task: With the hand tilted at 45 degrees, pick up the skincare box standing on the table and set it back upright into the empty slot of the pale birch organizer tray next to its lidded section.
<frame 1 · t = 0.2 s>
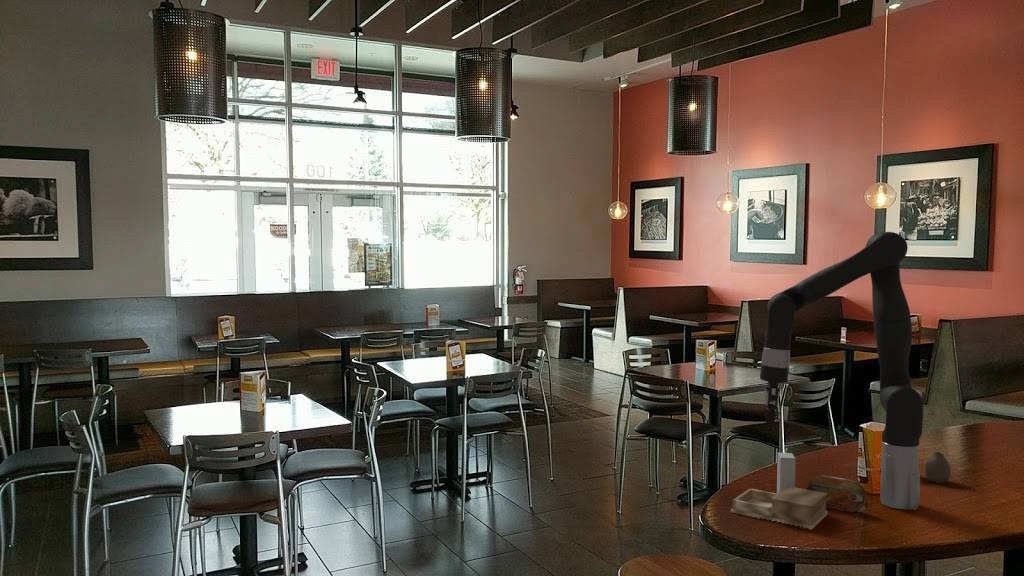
hand: (769, 421, 216), 22 cm above the table, tool pointing down, fingers open, 8 cm apart
organizer tray: (778, 513, 204), on the table
tin: (836, 508, 208), on the table
skincare box: (785, 497, 217), on the table
vase: (937, 482, 231), on the table
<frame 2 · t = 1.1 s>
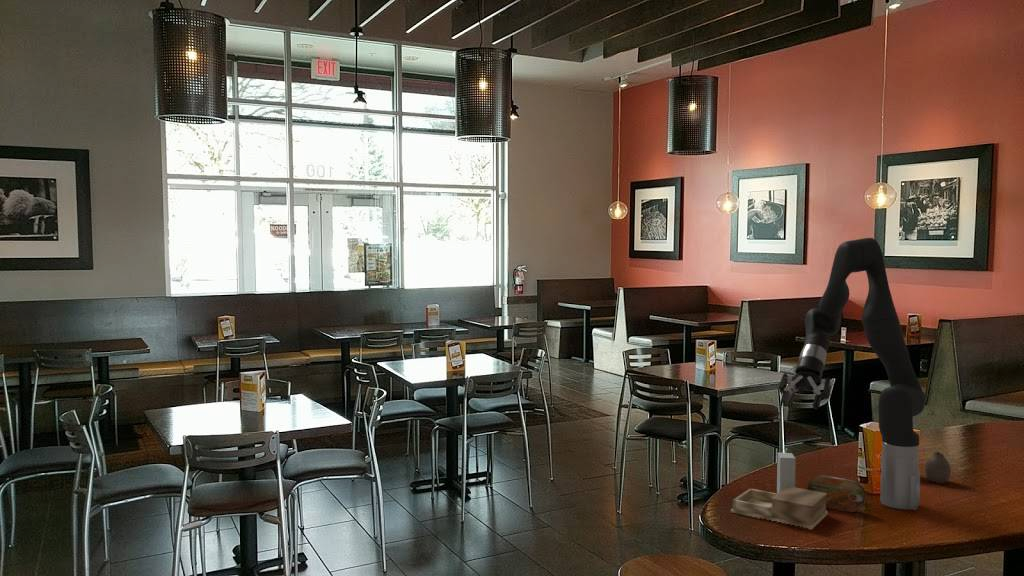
hand: (799, 405, 225), 24 cm above the table, tool tilted 45°, fingers open, 8 cm apart
nothing on the table moved.
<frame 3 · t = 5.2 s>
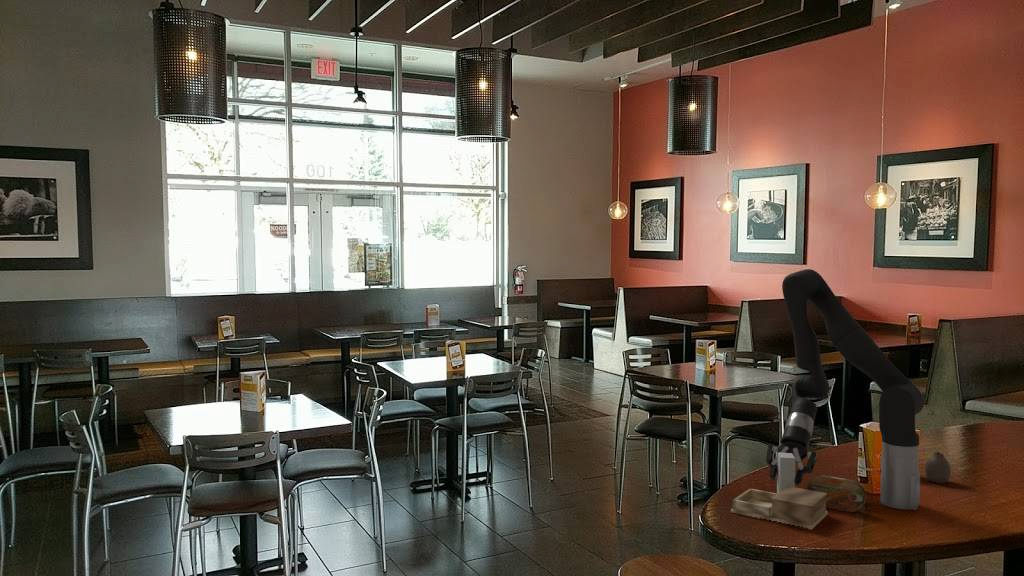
hand: (784, 481, 216), 5 cm above the table, tool tilted 45°, fingers closed on skincare box, 6 cm apart
skincare box: (785, 497, 217), on the table, touching gripper
everything else where it was.
when the fingers open (7 cm above the table, at t = 11.4 s): skincare box drops 1 cm, resting on organizer tray.
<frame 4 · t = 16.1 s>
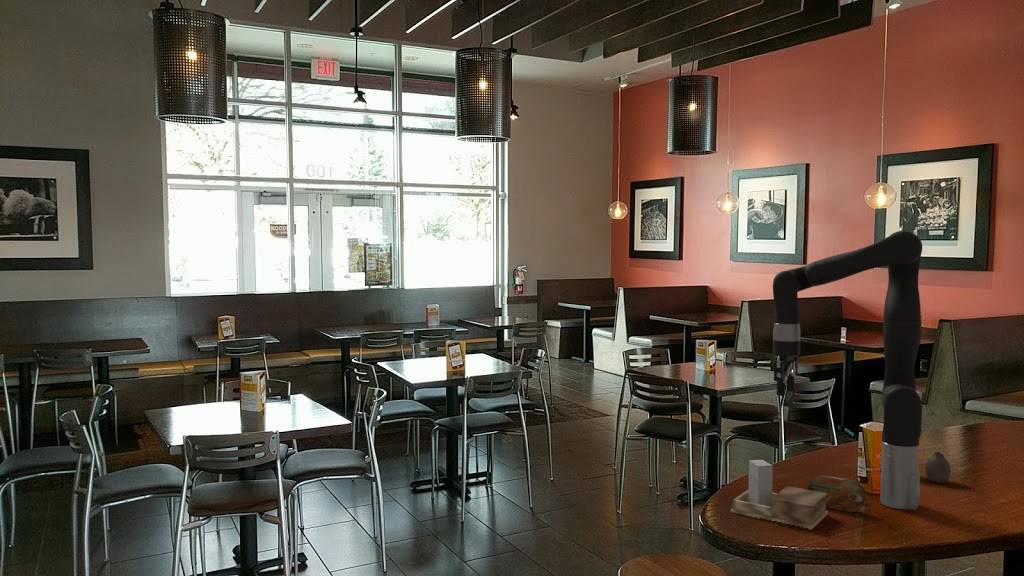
hand: (785, 393, 224), 28 cm above the table, tool pointing down, fingers open, 8 cm apart
skincare box: (760, 506, 207), point 1 cm above the table, touching organizer tray
everything else where it was.
at the end: skincare box inside the target area (0.3 cm from its centre), point 0.6 cm above the table; skincare box tilted 0°; the gripper is holding nothing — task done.
